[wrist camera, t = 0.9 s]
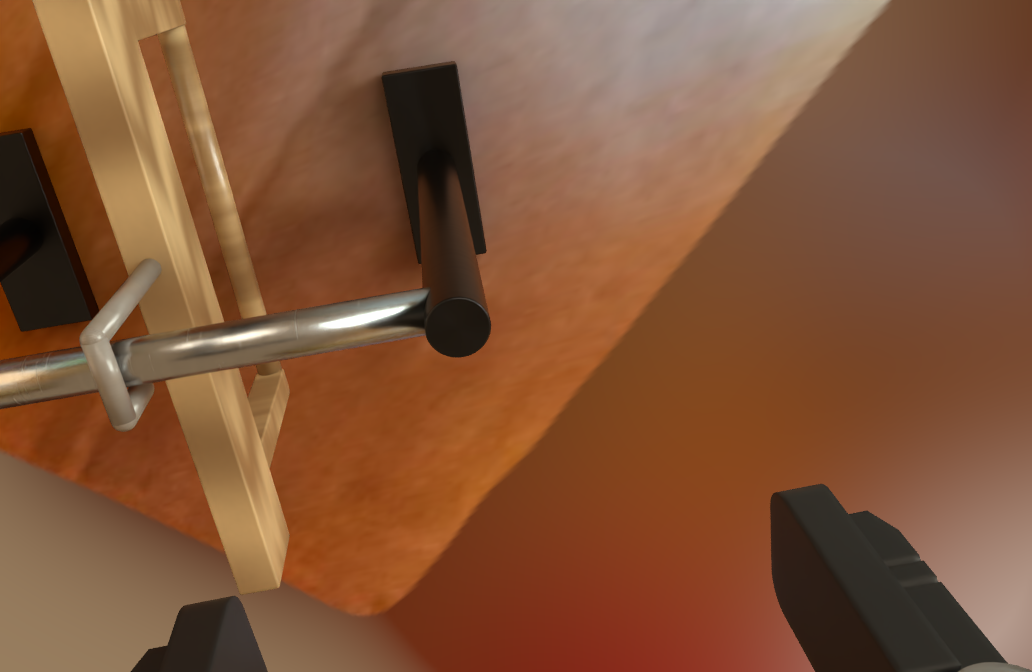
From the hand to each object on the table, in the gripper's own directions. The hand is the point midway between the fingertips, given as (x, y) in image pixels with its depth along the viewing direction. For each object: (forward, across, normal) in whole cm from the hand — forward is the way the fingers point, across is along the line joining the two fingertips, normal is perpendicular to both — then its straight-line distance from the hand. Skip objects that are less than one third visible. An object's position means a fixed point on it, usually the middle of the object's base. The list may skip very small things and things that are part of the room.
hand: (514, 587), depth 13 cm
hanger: (+24, +9, 0) cm, 26 cm away
